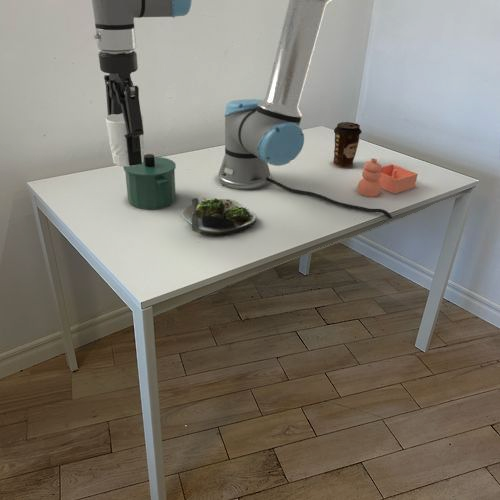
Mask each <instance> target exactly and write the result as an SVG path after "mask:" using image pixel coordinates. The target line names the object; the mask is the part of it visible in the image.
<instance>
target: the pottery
mask: <svg viewBox="0 0 500 500" xmlns="http://www.w3.org/2000/svg"><path fill="white" fill-rule="evenodd" d="M418 174H419V173H417V172H415V171H412V170H409V169H406V168H404V167H401V166H399V165H396V164H394V163H390V164H386V165H383V166H382V165H381V163H379V162H378V159H377V158H370V161H367V162H365V163H364V165H363V170H362V172H361V176H362V178H361V179H360V180H359V181H358V183H357V193H359V195H361V196H365V197H371V198H372V197H378V196H379V195H380V193H381V191H382V189H383V190H385V191H387V192H389V193H392V194H394V195H395V194H399V193H401V192H404V191H408V190H411V189H414V188H416V184H417V179H418Z"/></svg>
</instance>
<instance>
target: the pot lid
mask: <svg viewBox="0 0 500 500" xmlns="http://www.w3.org/2000/svg"><path fill="white" fill-rule="evenodd" d="M176 167H177V165H176V163H175V161H174V160H172V159H169V158H166V157H162V156H155V154H152V153H147V154H144V161H143V163H142V164H139V165H135V166H127V167H126V166H123V171H124V173H125V172H126V173H128V174H130V175H133V176H139V177H157V176H162V175H166V174H169V173H171V172H173V171H174V172H175V170H176V169H177V168H176Z"/></svg>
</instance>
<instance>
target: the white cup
mask: <svg viewBox="0 0 500 500" xmlns="http://www.w3.org/2000/svg"><path fill="white" fill-rule="evenodd" d="M141 117H142V124H143V125H144V116H143V115H142V114H141ZM105 124H106V130H107V138H108V142H109V147H110V151H111V156H112V162H113V164H114V165H116V166H118V167H124V166H126V167H127V166H130V165H129V160H128V150H127V141H126V138H125V136H124V135H126V134H127V129H126V125H125V121H124V116H123V113H122V114H118V115H116V114H111V115H108V114H107V116H105ZM144 135H145V134H143V135H140V147H141V158H142V163H143V161H144V155H145V154H144V152H145V151H144V150H145V141H144V140H145V139H144V138H145V136H144ZM133 166H135V165H133Z"/></svg>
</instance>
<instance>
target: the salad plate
mask: <svg viewBox="0 0 500 500" xmlns="http://www.w3.org/2000/svg"><path fill="white" fill-rule="evenodd" d="M181 216H182V217H183V219H184V220H185V221H186V222H187V223H188V224H189V225H190V226H191V230H192V231H194V232H195V233H200V234H201V235H204V236H207V237H216V238H217V237H226V236H230V235H234V234H240V233H243V232H245V231H247V230H249V229H250V228H251V227H253V226H254V225H255V224H256V222H257V214H256V213H255V212H254V211H253V210H251V209H249V208H248V207H246V206H244V205H243V204H242V203H240V202H238V201H237V200H234V199H228V198H219V199H218V198H211V199H206V198H205V197H204V198H202V200H201V202H200V200H199V198H197V197H193V198H191V205H189V206H187V207H185V208H183V210H182V211H181Z"/></svg>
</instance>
